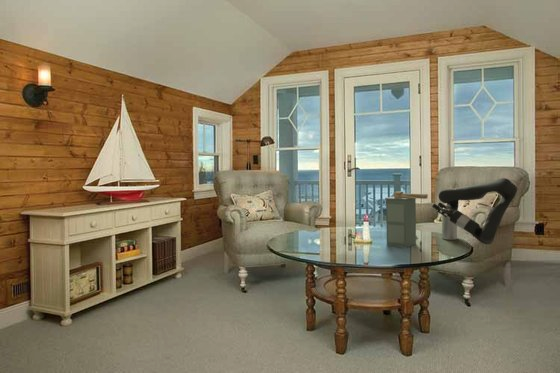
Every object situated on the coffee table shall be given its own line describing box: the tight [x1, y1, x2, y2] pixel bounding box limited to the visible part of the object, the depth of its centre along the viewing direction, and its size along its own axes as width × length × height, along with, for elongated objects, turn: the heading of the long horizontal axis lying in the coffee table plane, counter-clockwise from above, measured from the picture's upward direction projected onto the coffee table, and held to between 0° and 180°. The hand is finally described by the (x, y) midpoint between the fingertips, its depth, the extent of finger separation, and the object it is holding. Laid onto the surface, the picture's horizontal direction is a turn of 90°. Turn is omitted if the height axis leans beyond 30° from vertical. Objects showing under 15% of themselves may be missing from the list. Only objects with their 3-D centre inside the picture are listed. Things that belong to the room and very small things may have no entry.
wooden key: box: [393, 191, 429, 200], centre depth 255 cm, size 5×20×4 cm, turn 48°
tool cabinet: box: [384, 196, 418, 249], centre depth 261 cm, size 15×14×30 cm
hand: (435, 204), depth 245 cm, fingers open, 8 cm apart
